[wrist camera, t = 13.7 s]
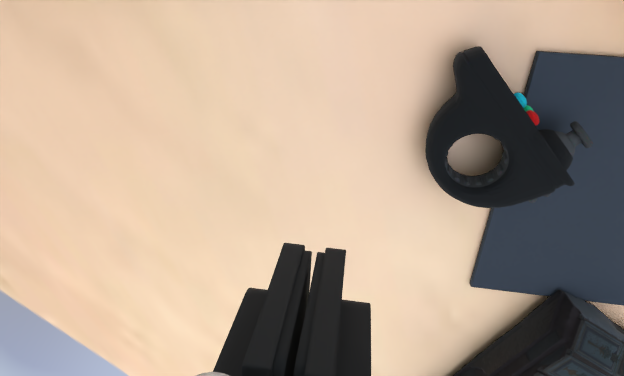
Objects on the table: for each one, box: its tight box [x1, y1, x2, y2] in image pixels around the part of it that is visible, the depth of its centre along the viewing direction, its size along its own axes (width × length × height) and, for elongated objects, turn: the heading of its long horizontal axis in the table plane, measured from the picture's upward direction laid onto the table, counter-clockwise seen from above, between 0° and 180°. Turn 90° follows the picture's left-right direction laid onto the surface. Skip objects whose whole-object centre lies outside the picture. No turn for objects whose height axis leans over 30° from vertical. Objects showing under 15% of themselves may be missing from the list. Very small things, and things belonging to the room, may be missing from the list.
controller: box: [426, 46, 593, 208], centre depth 29 cm, size 4×12×10 cm
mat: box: [470, 51, 624, 305], centre depth 32 cm, size 21×14×1 cm, turn 177°
